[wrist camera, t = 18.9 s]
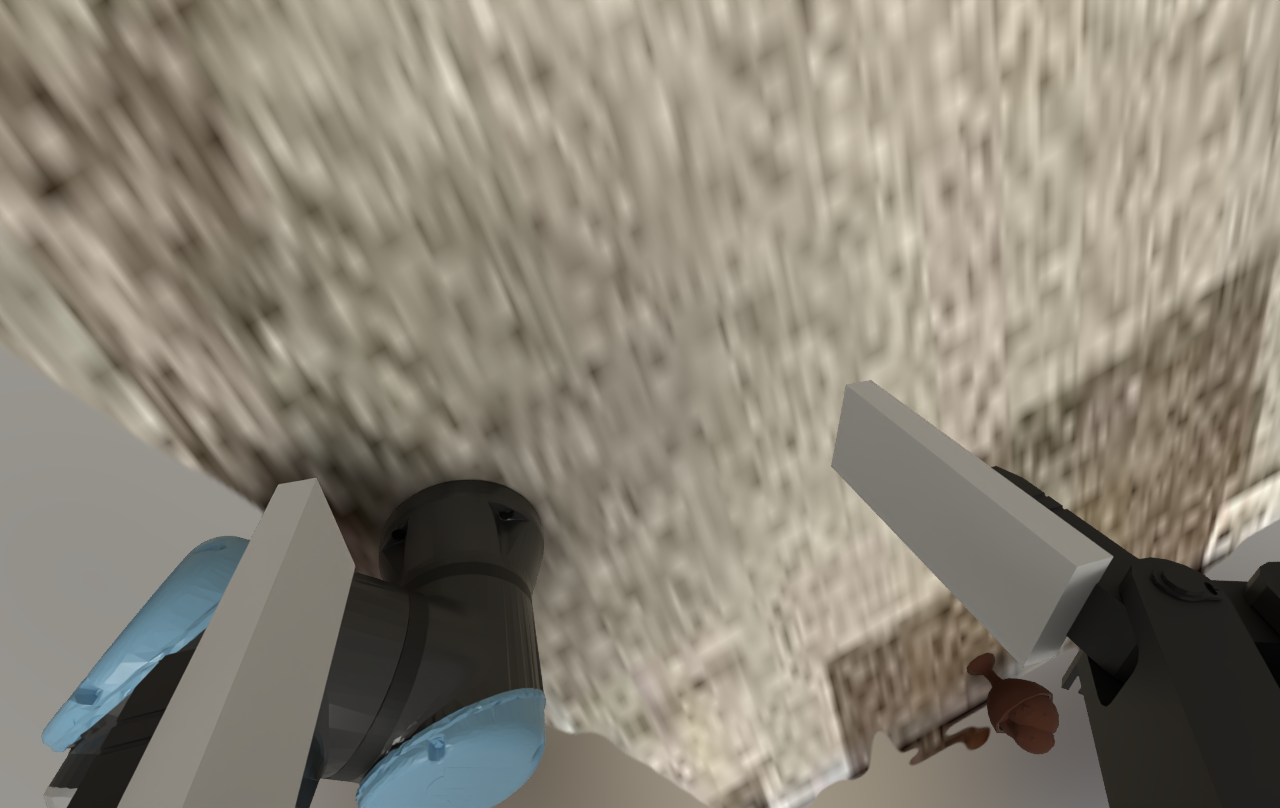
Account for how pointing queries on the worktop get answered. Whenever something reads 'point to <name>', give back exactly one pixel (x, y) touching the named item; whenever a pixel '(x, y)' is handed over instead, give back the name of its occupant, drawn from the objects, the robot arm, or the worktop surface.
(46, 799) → the robot arm
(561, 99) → the worktop surface
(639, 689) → the worktop surface
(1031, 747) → the ice cream bowl
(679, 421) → the worktop surface
